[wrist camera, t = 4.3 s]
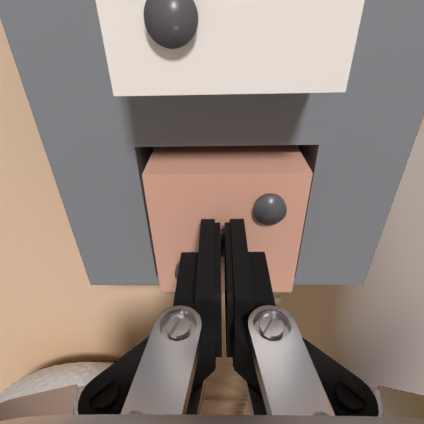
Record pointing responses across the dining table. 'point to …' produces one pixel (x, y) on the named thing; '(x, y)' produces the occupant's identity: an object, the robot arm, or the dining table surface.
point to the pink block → (227, 203)
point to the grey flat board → (220, 137)
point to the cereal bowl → (55, 378)
